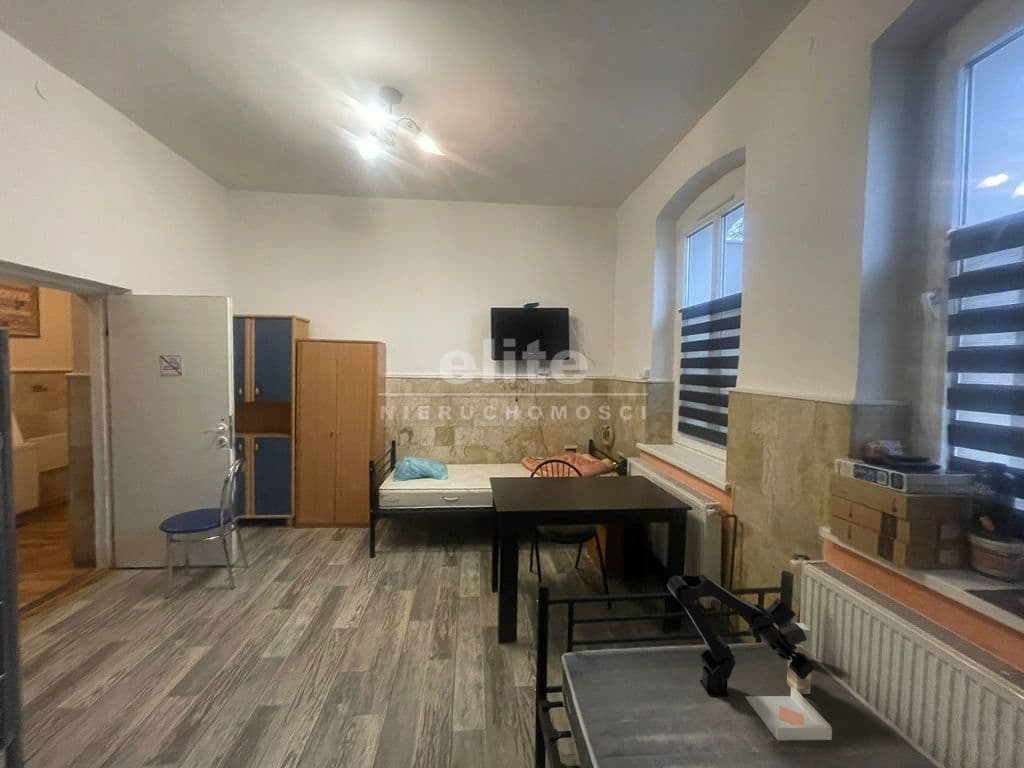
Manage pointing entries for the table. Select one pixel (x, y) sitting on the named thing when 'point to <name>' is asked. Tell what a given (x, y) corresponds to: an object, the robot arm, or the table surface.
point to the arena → (791, 717)
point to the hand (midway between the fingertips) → (803, 668)
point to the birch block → (793, 679)
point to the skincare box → (807, 633)
